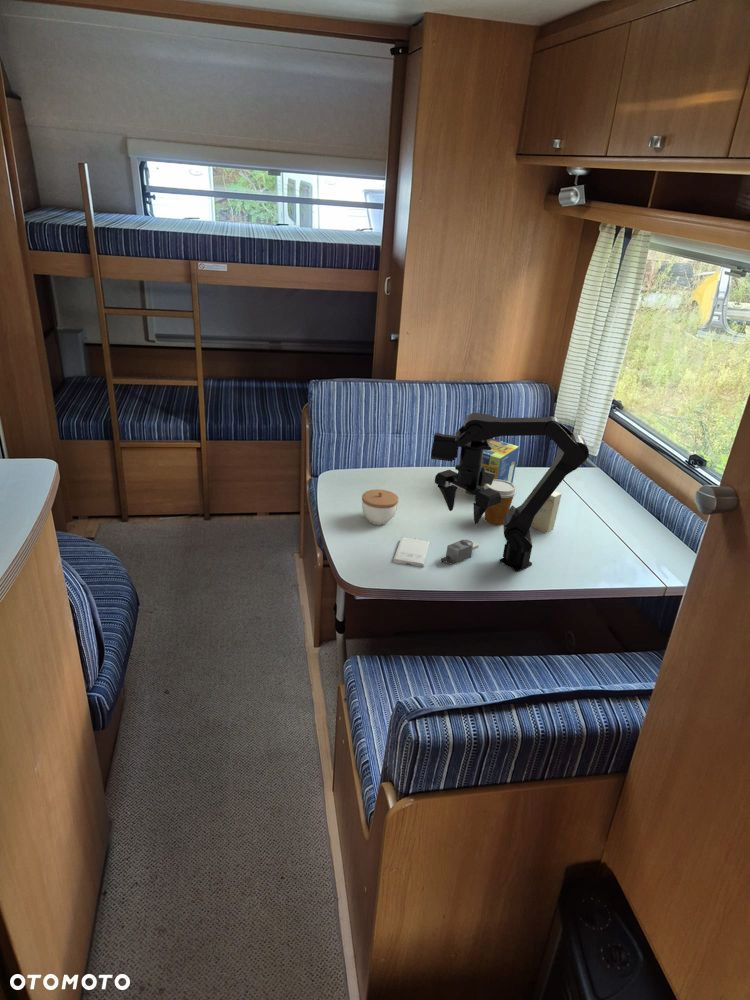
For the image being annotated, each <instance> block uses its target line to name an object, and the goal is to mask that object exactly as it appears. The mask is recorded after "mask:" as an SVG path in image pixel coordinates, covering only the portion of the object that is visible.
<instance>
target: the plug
mask: <svg viewBox="0 0 750 1000" xmlns="http://www.w3.org/2000/svg"><path fill="white" fill-rule="evenodd" d="M446 547H447V548H446V555H445V556H444V557H441V558H440V562H441V563H448V564H450V563H451V565H457V564H459V563H461V562H464V561H466V560H468V559H470V558H471V557H472V554H473V551H474V550H476V549H479V544H478V543H476V542H474V541H472V540H470V539H465V538H464V539H461V540H458V541H455V542H453V543H451V544H448V545H447V546H446ZM446 561H447V562H446Z"/></svg>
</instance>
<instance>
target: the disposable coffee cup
mask: <svg viewBox="0 0 750 1000" xmlns="http://www.w3.org/2000/svg"><path fill="white" fill-rule="evenodd" d="M488 488H490V489H493V490H495V491H497V492H499V493H500V494H501V502H500V503H498V504H496V505H493V506H490V507H488V508H487V509H486V511H485V512H484V522H485V523H487V524H489V525H492V526H503V521H504V515H505V514H507V512H508V511H509V509H510V507H511V506H512V503H513V500H514V497H515V495H516V494H517V489H516V486H515V484H513V483H510V482H508V481H505V480H496V479H495V480H493V482H492V485H489V484H486V485H485V486H484V489H488Z"/></svg>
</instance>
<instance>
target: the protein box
mask: <svg viewBox="0 0 750 1000" xmlns="http://www.w3.org/2000/svg"><path fill="white" fill-rule="evenodd" d="M488 441H489V442H490V443H491V447H492V449H491V450H484V451H483V458H482V465H481V466H483V467H484V468H485V470H487V471H489V472H492V473H494V474H495V477H494V480H495V479H496V480H505V481H508V482H510V483H512V484H513V482H514V477H515V473H516V466H517V460H518V454H519V450H520V446H518V445H515V444H511V443H508V442H505V441H501V440H498V439H495V438H492V439H489V440H488ZM485 485H486V484H485V483H484V486H485ZM484 486H482V487H481V486H478V489H480V490H485V489H484ZM465 494H469V495H472V496H474V497H475V495H473V494H471V493H469V492H467V491H465Z"/></svg>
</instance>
